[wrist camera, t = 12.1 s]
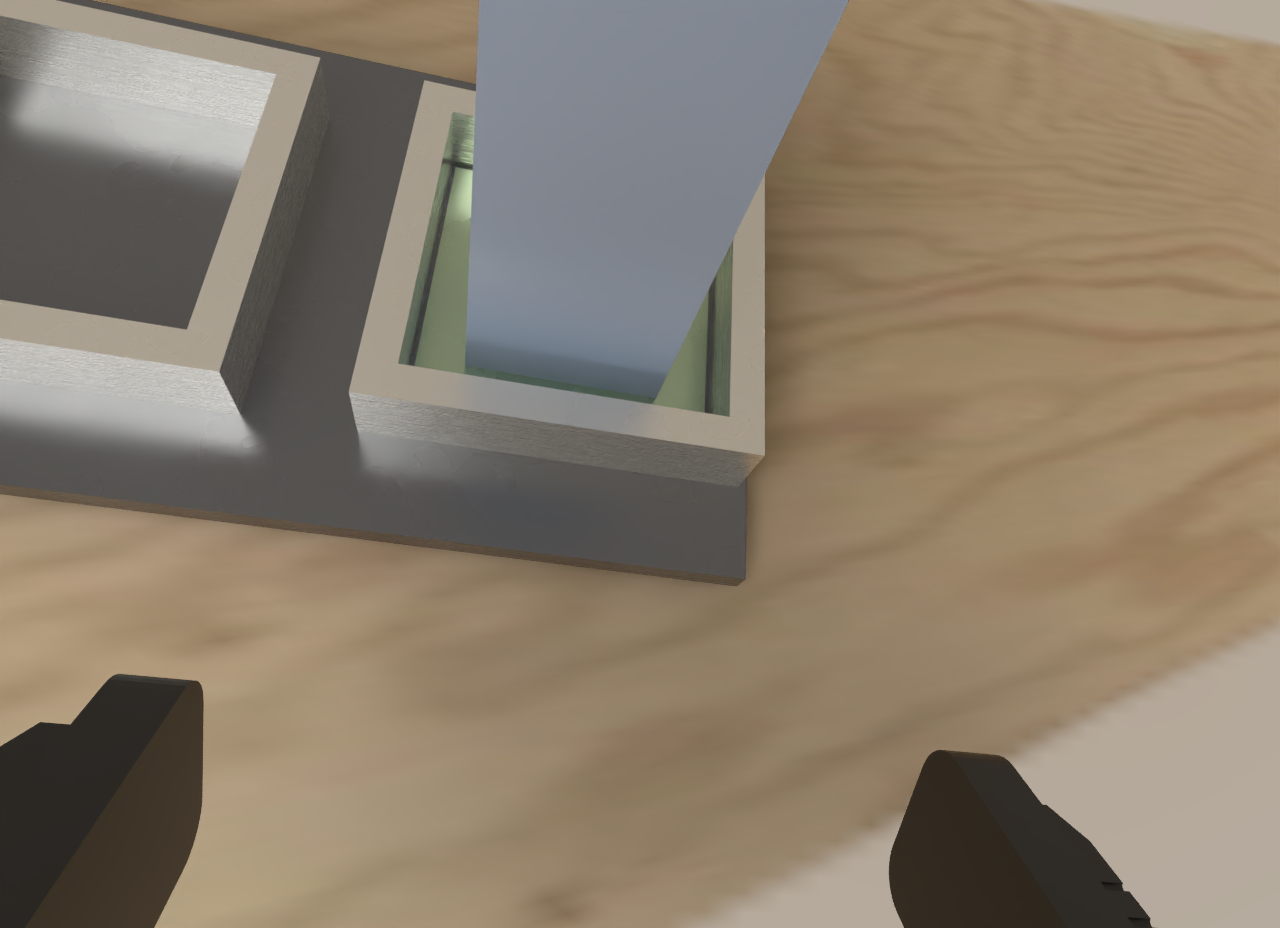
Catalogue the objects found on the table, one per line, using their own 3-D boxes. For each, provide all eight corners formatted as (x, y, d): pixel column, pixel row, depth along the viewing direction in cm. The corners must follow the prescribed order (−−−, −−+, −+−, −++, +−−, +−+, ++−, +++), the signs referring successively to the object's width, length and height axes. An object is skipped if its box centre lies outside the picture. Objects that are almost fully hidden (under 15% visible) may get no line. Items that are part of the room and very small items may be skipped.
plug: (464, 365, 19) (488, -226, 8) (493, 212, 21) (542, -425, 10) (655, 397, 20) (900, -107, 9) (667, 248, 21) (879, -315, 11)
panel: (-277, 459, 16) (-391, 399, 13) (-7, -2, 21) (-58, -97, 19) (736, 586, 19) (774, 554, 17) (743, 159, 24) (771, 94, 22)
